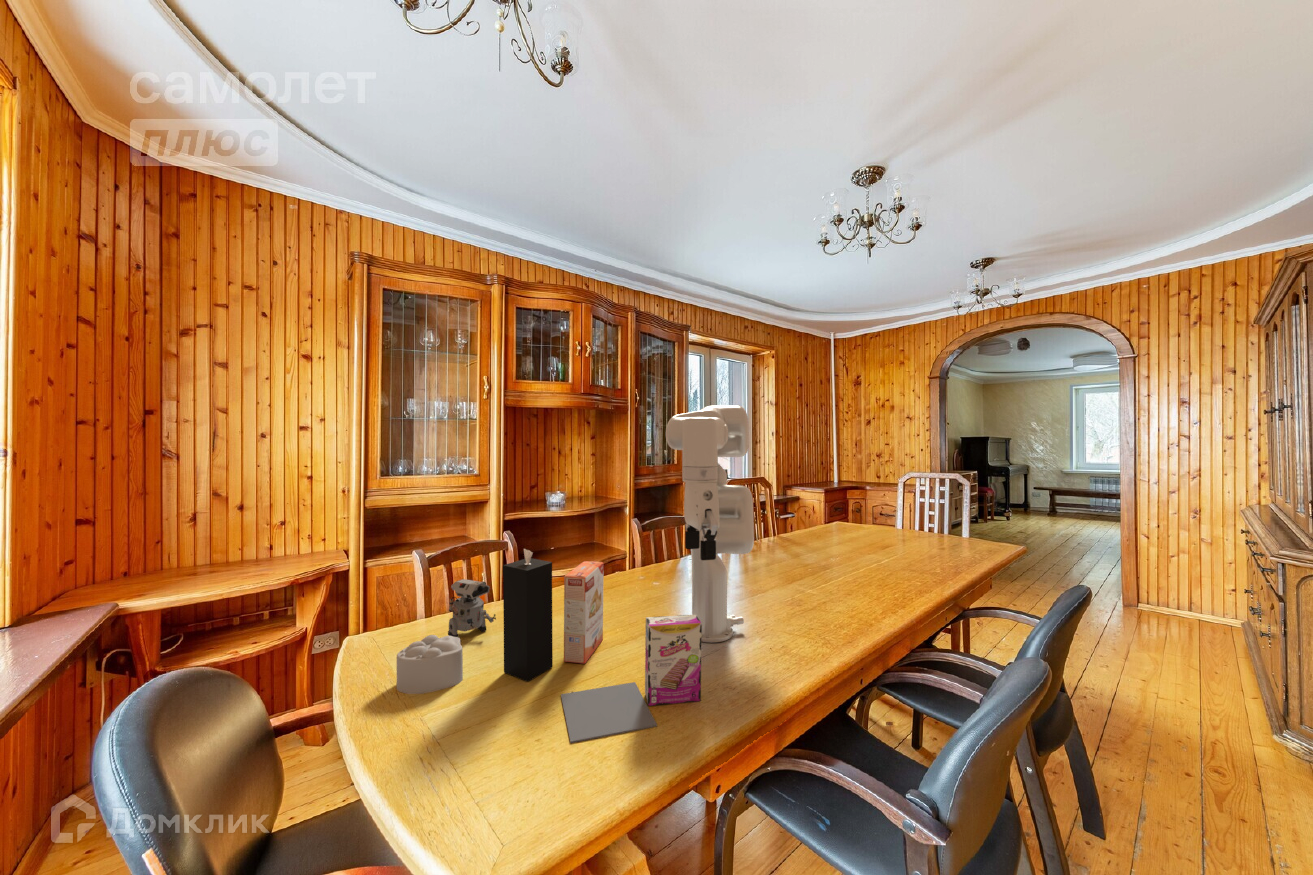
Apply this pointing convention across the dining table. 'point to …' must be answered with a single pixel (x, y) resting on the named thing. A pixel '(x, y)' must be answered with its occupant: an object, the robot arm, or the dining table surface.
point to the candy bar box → (673, 659)
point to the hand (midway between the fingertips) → (699, 553)
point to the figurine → (468, 607)
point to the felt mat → (605, 712)
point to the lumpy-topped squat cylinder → (430, 665)
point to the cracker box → (583, 611)
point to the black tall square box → (527, 617)
